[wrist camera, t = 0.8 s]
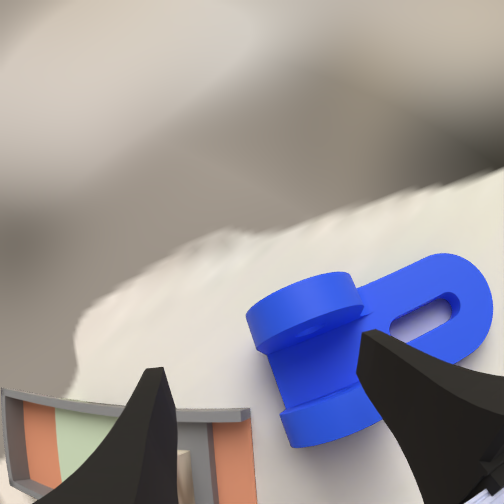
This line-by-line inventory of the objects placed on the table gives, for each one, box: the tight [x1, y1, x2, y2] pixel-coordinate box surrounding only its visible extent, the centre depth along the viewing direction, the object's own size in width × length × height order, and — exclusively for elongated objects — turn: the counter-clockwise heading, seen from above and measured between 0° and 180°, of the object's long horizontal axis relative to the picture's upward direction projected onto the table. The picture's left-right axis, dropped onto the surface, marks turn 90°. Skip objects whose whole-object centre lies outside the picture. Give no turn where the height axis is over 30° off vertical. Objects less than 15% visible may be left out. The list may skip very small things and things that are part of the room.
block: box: [177, 450, 195, 504], centre depth 18 cm, size 5×5×4 cm
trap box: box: [1, 388, 257, 504], centre depth 21 cm, size 12×27×3 cm, turn 95°
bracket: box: [246, 253, 493, 448], centre depth 19 cm, size 18×8×9 cm, turn 109°
